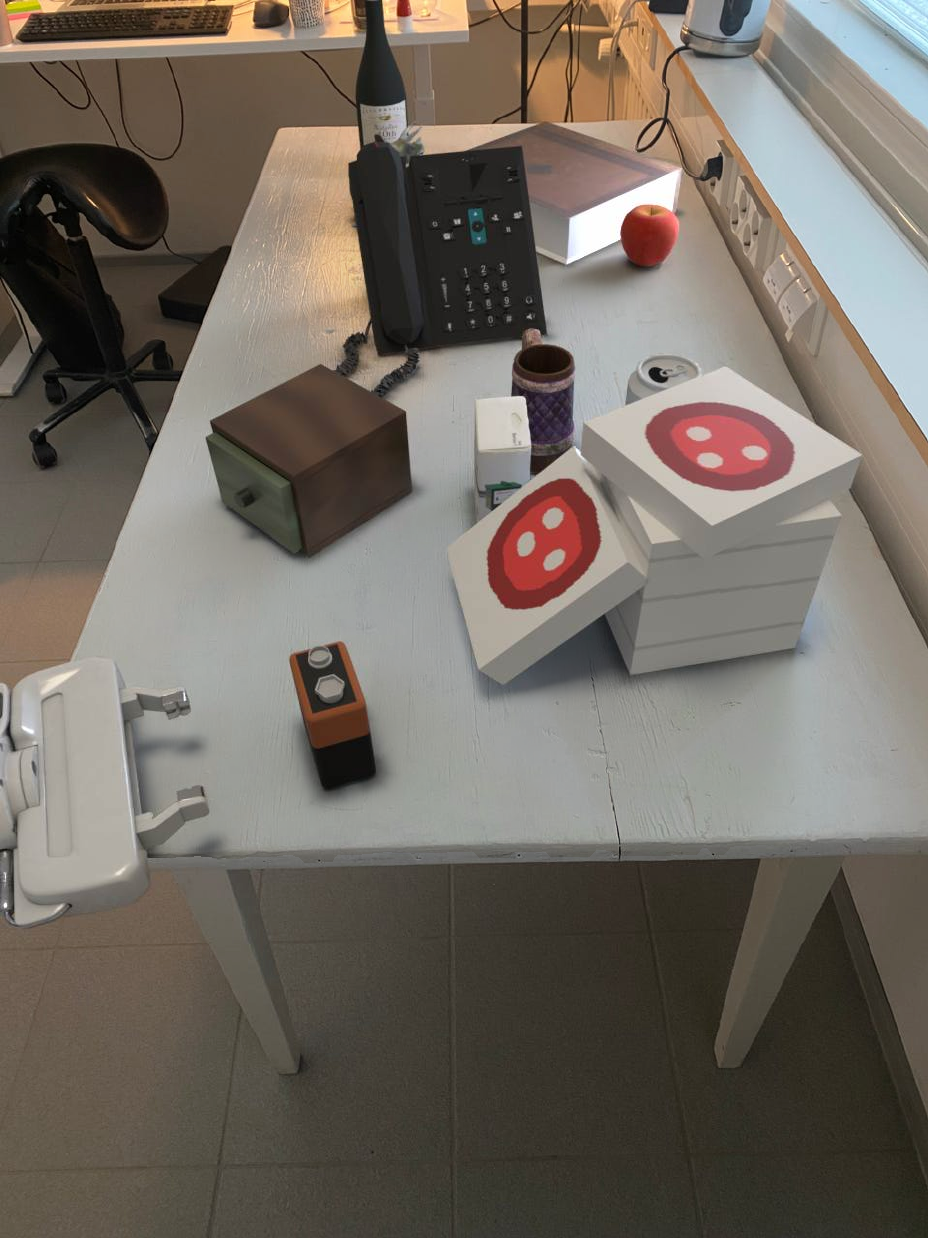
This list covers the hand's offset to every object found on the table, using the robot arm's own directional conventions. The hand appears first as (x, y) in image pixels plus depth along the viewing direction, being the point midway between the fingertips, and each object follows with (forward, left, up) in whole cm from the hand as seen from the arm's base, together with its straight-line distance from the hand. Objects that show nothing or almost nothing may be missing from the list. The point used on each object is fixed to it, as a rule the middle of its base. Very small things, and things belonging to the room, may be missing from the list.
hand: (197, 746), depth 68 cm
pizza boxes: (+38, +6, -6) cm, 39 cm away
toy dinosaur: (+39, +95, -6) cm, 103 cm away
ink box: (+32, +22, -6) cm, 39 cm away
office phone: (+36, +58, -6) cm, 69 cm away
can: (+50, +24, -6) cm, 56 cm away
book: (+66, +88, -6) cm, 110 cm away
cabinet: (+16, +32, -6) cm, 36 cm away
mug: (+40, +32, -6) cm, 52 cm away
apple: (+71, +67, -6) cm, 98 cm away
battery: (+10, 0, -6) cm, 12 cm away
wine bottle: (+46, +112, -6) cm, 121 cm away
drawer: (+14, +31, -5) cm, 34 cm away
